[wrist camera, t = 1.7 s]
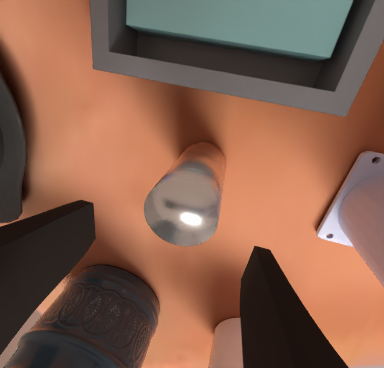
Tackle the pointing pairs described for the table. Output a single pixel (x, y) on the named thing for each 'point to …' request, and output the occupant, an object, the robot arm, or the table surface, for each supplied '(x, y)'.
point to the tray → (243, 68)
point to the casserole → (11, 156)
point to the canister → (93, 324)
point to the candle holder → (227, 345)
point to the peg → (188, 197)
